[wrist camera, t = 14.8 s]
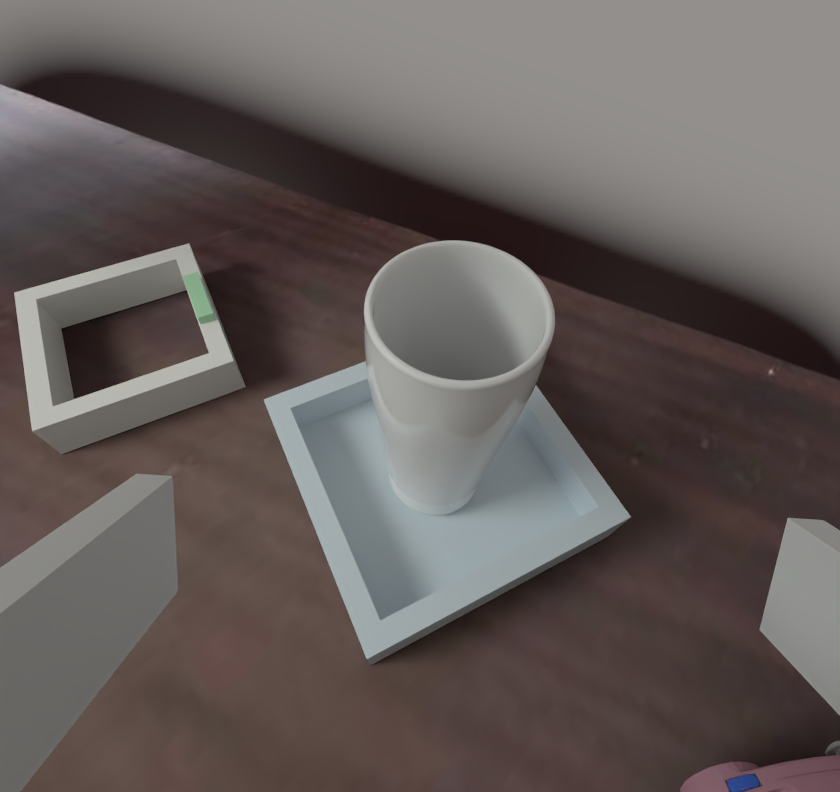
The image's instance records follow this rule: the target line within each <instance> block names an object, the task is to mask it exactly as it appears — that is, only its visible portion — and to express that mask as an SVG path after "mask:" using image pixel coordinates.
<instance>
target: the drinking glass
mask: <svg viewBox="0 0 840 792" xmlns="http://www.w3.org/2000/svg"><path fill="white" fill-rule="evenodd" d="M554 329H555V311H554V307H553V303H552V300H551V297H550V295H549V293H548V291H547V289H546V287H545V286H544V284H543V282H542V281H541V280H540V279H539V277H538V276H537V275H536V274H535V273H534V272H533V271H532V270H531V269H530V268H529V267H528V266H527V265H525V264H524V263H523V262H521V261H520V260H518V259H517V258H515V257H513V256H512V255H510V254H508V253H506V252H504V251H502V250H499V249H497V248H494V247H491V246H488V245H484V244H480V243H475V242H469V241H458V240H449V241H437V242H431V243H426V244H422V245H419V246H416V247H413V248H411V249H408V250H406V251H404V252H402V253H400V254H399V255H397V256H395V257H394V258H393V259H391V260H390V261H389V262H387V263H386V264H385V265H384V266H383V267H382V268H381V269H380V270H379V271H378V273H377V274H376V275H375V277H374V278H373V280H372V282H371V284H370V286H369V288H368V290H367V294H366V297H365V303H364V345H365V360H366V369H367V377H368V383H369V389H370V393H371V398H372V402H373V406H374V410H375V414H376V418H377V422H378V426H379V430H380V434H381V438H382V442H383V446H384V450H385V454H386V459H387V463H388V475H389V480H390V484H391V486H392V489H393V491H394V492H395V494H396V496H397V497H398V498H399V499H400V500H401V501H402V502H403V503H404V504H405V505H406V506H407V507H409V508H411V509H412V510H414V511H416V512H419V513H422V514H426V515H445V514H449V513H452V512H454V511H457V510H458V509H460V508H462V507H463V506H464V505H465V504H467V503H468V502H469V501H470V500H471V498H472V497H473V496H474V494H475V492H476V490H477V488H478V486H479V483H480V481H481V479H482V477H483V475H484V474H485V472H486V470H487V469H488V467H489V465H490V464H491V462H492V461H493V459H494V457H495V456H496V454H497V453H498V451H499V450H500V448H501V446H502V445H503V443H504V442H505V440H506V439H507V437H508V435H509V434H510V432H511V431H512V429H513V427H514V426H515V424H516V423H517V421H518V419H519V418H520V416H521V414H522V412H523V411H524V409H525V407H526V405H527V403H528V401H529V399H530V397H531V395H532V392H533V390H534V388H535V386H536V383H537V381H538V378H539V376H540V373H541V371H542V368H543V365H544V362H545V359H546V356H547V353H548V350H549V347H550V344H551V342H552V338H553V335H554Z"/></svg>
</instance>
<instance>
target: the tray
mask: <svg viewBox="0 0 840 792" xmlns="http://www.w3.org/2000/svg"><path fill="white" fill-rule="evenodd" d="M264 402H265V404H266V407H267V409H268V412H269V415H270V417H271V420H272V422H273V425H274V427H275V430H276V432H277V435H278V437H279V440H280V442H281V445H282V447H283V450H284V452H285V455H286V457H287V460H288V462H289V465H290V467H291V470H292V472H293V475H294V477H295V480H296V482H297V485H298V487H299V490H300V492H301V495H302V497H303V500H304V502H305V505H306V508H307V510H308V513H309V515H310V518H311V520H312V523H313V525H314V528H315V530H316V533H317V535H318V538H319V540H320V543H321V545H322V548H323V550H324V553H325V555H326V558H327V560H328V563H329V565H330V568H331V570H332V573H333V575H334V578H335V580H336V583H337V585H338V588H339V590H340V593H341V595H342V598H343V601H344V603H345V606H346V608H347V611H348V613H349V616H350V618H351V621H352V623H353V626H354V628H355V631H356V633H357V636H358V638H359V641H360V643H361V646H362V648H363V651H364V653H365V656H366V658H367V660H368V662H369V664H370V665H372V664H374V663H376V662H378V661H380V660H381V659H383V658H385V657H387V656H389V655H391V654H393V653H394V652H396V651H398V650H400V649H402V648H404V647H405V646H407V645H409V644H411V643H413V642H415V641H416V640H418V639H420V638H422V637H424V636H426V635H428V634H429V633H431V632H433V631H435V630H437V629H439V628H440V627H442V626H444V625H446V624H448V623H450V622H451V621H453V620H455V619H457V618H459V617H461V616H463V615H464V614H466V613H468V612H470V611H472V610H474V609H475V608H477V607H479V606H481V605H483V604H485V603H486V602H488V601H490V600H492V599H494V598H496V597H498V596H499V595H501V594H503V593H505V592H507V591H509V590H510V589H512V588H514V587H516V586H518V585H520V584H521V583H523V582H525V581H527V580H529V579H531V578H533V577H534V576H536V575H538V574H540V573H542V572H544V571H545V570H547V569H549V568H551V567H553V566H555V565H556V564H558V563H560V562H562V561H564V560H566V559H568V558H569V557H571V556H573V555H575V554H577V553H579V552H580V551H582V550H584V549H586V548H588V547H590V546H591V545H593V544H595V543H597V542H599V541H601V540H603V539H604V538H606V537H608V536H609V535H610V534H612V533H613V532H614V531H615V530H616V529H617V528H619V527H620V526H621V525H622V524H623V523H625V522H626V521H627V520H628V519H629V518H630V517H631V516H630V515H629V513H628V512H627V511H626V509H625V508H624V507H623V505H622V504H621V502H620V501H619V500H618V498H617V497H616V495H615V494H614V493H613V491H612V490H611V488H610V487H609V486H608V484H607V483H606V482H605V480H604V479H603V477H602V476H601V475H600V473H599V472H598V470H597V469H596V468H595V466H594V465H593V463H592V462H591V461H590V459H589V458H588V457H587V455H586V454H585V452H584V451H583V450H582V448H581V447H580V445H579V444H578V443H577V441H576V440H575V438H574V437H573V436H572V434H571V433H570V432H569V430H568V429H567V427H566V426H565V425H564V423H563V422H562V420H561V419H560V418H559V416H558V415H557V414H556V412H555V411H554V409H553V408H552V407H551V405H550V404H549V402H548V401H547V400H546V398H545V397H544V395H543V394H542V393H541V391H540V390H539V389H538V387H537V386H535V388H534V390H533V392H532V395H531V397H530V399H529V401H528V403H527V405H526V407H525V409H524V411H523V412H522V414H521V416H520V418H519V419H518V421H517V423H516V424H515V426H514V427H513V429H512V431H511V432H510V434H509V435H508V437H507V439H506V440H505V442H504V443H503V445H502V446H501V448H500V450H499V451H498V453H497V454H496V456H495V457H494V459H493V461H492V462H491V464H490V465H489V467H488V469H487V470H486V472H485V474H484V475H483V477H482V479H481V481H480V483H479V486H478V488H477V490H476V492H475V494H474V496H473V497H472V498H471V500H470V501H469V502H468V503H467V504H465V505H464V506H463V507H462V508H460V509H458V510H457V511H454V512H452V513H449V514H445V515H426V514H422V513H419V512H416V511H414V510H412V509H411V508H409V507H407V506H406V505H405V504H404V503H403V502H402V501H401V500H400V499H399V498H398V497H397V496H396V494H395V492H394V491H393V489H392V486H391V484H390V480H389V475H388V463H387V459H386V454H385V450H384V446H383V442H382V438H381V434H380V430H379V426H378V422H377V418H376V414H375V410H374V406H373V402H372V398H371V393H370V389H369V383H368V377H367V369H366V361H365V362H363V363H360V364H357V365H355V366H352V367H349V368H347V369H344V370H341V371H339V372H336V373H333V374H331V375H328V376H325V377H323V378H320V379H317V380H315V381H312V382H309V383H307V384H304V385H301V386H299V387H296V388H293V389H291V390H288V391H285V392H283V393H280V394H277V395H275V396H272V397H269V398H266V399H264Z"/></svg>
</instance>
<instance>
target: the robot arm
mask: <svg viewBox="0 0 840 792" xmlns="http://www.w3.org/2000/svg"><path fill="white" fill-rule="evenodd" d="M177 592H178V582H177V561H176V539H175V518H174V496H173V476H161V475H146V474H136V475H134V476H133V477H131V478H130V479H128V480H127V481H125V482H124V483H123V484H121V485H120V486H118V487H117V488H115V489H114V490H112V491H111V492H109V493H108V494H107V495H105V496H104V497H102V498H101V499H99V500H98V501H96V502H95V503H94V504H92V505H91V506H89V507H88V508H86V509H85V510H83V511H82V512H80V513H79V514H78V515H76V516H75V517H73V518H72V519H70V520H69V521H67V522H66V523H64V524H63V525H62V526H60V527H59V528H57V529H56V530H54V531H53V532H51V533H50V534H49V535H47V536H46V537H44V538H43V539H41V540H40V541H38V542H37V543H35V544H34V545H33V546H31V547H30V548H28V549H27V550H25V551H24V552H22V553H21V554H20V555H18V556H17V557H15V558H14V559H12V560H11V561H9V562H8V563H6V564H5V565H4V566H2V567H1V568H0V792H21V790H22V789H23V788H24V787H25V785H26V784H27V783H28V781H29V780H30V779H31V778H32V776H33V775H34V774H35V773H36V771H37V770H38V769H39V767H40V766H41V765H42V764H43V762H44V761H45V760H46V759H47V757H48V756H49V755H50V753H51V752H52V751H53V750H54V748H55V747H56V746H57V745H58V743H59V742H60V741H61V739H62V738H63V737H64V736H65V734H66V733H67V732H68V730H69V729H70V728H71V727H72V725H73V724H74V723H75V722H76V720H77V719H78V718H79V716H80V715H81V714H82V713H83V711H84V710H85V709H86V708H87V706H88V705H89V704H90V702H91V701H92V700H93V699H94V697H95V696H96V695H97V694H98V692H99V691H100V690H101V688H102V687H103V686H104V685H105V683H106V682H107V681H108V679H109V678H110V677H111V676H112V674H113V673H114V672H115V671H116V669H117V668H118V667H119V665H120V664H121V663H122V662H123V660H124V659H125V658H126V657H127V655H128V654H129V653H130V651H131V650H132V649H133V648H134V646H135V645H136V644H137V643H138V641H139V640H140V639H141V637H142V636H143V635H144V634H145V632H146V631H147V630H148V629H149V627H150V626H151V625H152V623H153V622H154V621H155V620H156V618H157V617H158V616H159V614H160V613H161V612H162V611H163V609H164V608H165V607H166V606H167V604H168V603H169V602H170V600H171V599H172V598H173V597H174V595H175V594H176V593H177ZM760 631H761V632H762V633H763V634H764V635H765V636H766V637H767V638H768V640H769V641H770V642H771V643H772V644H773V645H774V646H775V647H776V648H777V649H778V650H779V651H780V652H781V653H782V654H783V656H784V657H785V658H786V659H787V660H788V661H789V662H790V663H791V664H792V665H793V666H794V667H795V668H796V669H797V671H798V672H799V673H800V674H801V675H802V676H803V677H804V678H805V679H806V680H807V681H808V682H809V683H810V684H811V686H812V687H813V688H814V689H815V690H816V691H817V692H818V693H819V694H820V695H821V696H822V697H823V698H824V699H825V700H826V702H827V703H828V704H829V705H830V706H831V707H832V708H833V709H834V710H835V711H836V712H837V713H838V714H839V715H840V530H838V529H837V528H835V527H834V526H832V525H830V524H829V523H827V522H826V521H824V520H813V519H798V518H788V519H787V523H786V527H785V531H784V534H783V538H782V542H781V546H780V550H779V554H778V558H777V562H776V566H775V570H774V574H773V578H772V582H771V586H770V590H769V594H768V598H767V602H766V606H765V610H764V614H763V618H762V622H761V626H760Z"/></svg>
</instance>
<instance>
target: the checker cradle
mask: <svg viewBox="0 0 840 792" xmlns="http://www.w3.org/2000/svg"><path fill="white" fill-rule="evenodd" d="M186 290H187V292H188V295H189V298H190V300H191V303H192V306H193V309H194V312H195V314H196V317H197V320H198V323H199V326H200V329H201V331H202V334H203V337H204V340H205V343H206V346H207V348H208V351H209V353H208V354H206V355H203V356H200V357H197V358H194V359H191V360H188V361H185V362H182V363H179V364H176V365H173V366H170V367H167V368H164V369H161V370H159V371H156V372H153V373H150V374H147V375H144V376H141V377H138V378H135V379H132V380H129V381H126V382H123V383H120V384H117V385H114V386H111V387H109V388H106V389H103V390H100V391H97V392H94V393H91V394H88V395H85V396H82V397H79V398H76V399H74V395H73V390H72V384H71V379H70V373H69V368H68V362H67V357H66V351H65V346H64V340H63V335H62V329H61V328H65V327H68V326H71V325H74V324H78V323H81V322H84V321H88V320H91V319H94V318H97V317H101V316H104V315H107V314H111V313H114V312H117V311H120V310H124V309H127V308H130V307H133V306H137V305H140V304H143V303H147V302H150V301H153V300H156V299H160V298H163V297H166V296H170V295H173V294H176V293H179V292H183V291H186ZM14 295H15V302H16V310H17V318H18V326H19V333H20V341H21V349H22V357H23V364H24V372H25V380H26V388H27V395H28V403H29V411H30V418H31V426H32V431H33V432H34V433H35V434H36V435H38V436H39V437H40V438H42V439H43V440H44V441H46V442H47V443H48V444H49V445H51V446H52V447H53V448H55V449H56V450H57V451H58V452H60V453H61V454H64V453H66V452H69V451H72V450H75V449H77V448H80V447H83V446H86V445H88V444H91V443H94V442H96V441H99V440H102V439H105V438H107V437H110V436H113V435H116V434H118V433H121V432H124V431H127V430H129V429H132V428H135V427H138V426H140V425H143V424H146V423H149V422H151V421H154V420H157V419H160V418H162V417H165V416H168V415H171V414H173V413H176V412H179V411H182V410H184V409H187V408H190V407H193V406H195V405H198V404H201V403H204V402H206V401H209V400H212V399H215V398H217V397H220V396H223V395H226V394H228V393H231V392H234V391H237V390H239V389H242V388H245V387H246V386H245V383H244V381H243V378H242V376H241V373H240V370H239V368H238V365H237V363H236V360H235V357H234V355H233V352H232V349H231V347H230V344H229V342H228V339H227V336H226V334H225V331H224V329H223V326H222V323H221V321H220V318H219V316H218V313H217V310H216V308H215V305H214V302H213V300H212V297H211V295H210V292H209V289H208V287H207V284H206V282H205V279H204V276H203V274H202V272H201V269H200V267H199V265H198V262H197V260H196V258H195V256H194V253H193V251H192V249H191V247H190V244H185V245H182V246H178V247H174V248H171V249H167V250H164V251H160V252H157V253H153V254H150V255H146V256H142V257H139V258H135V259H132V260H128V261H125V262H121V263H118V264H114V265H111V266H107V267H103V268H100V269H96V270H93V271H89V272H86V273H82V274H79V275H75V276H71V277H68V278H64V279H61V280H57V281H54V282H50V283H47V284H43V285H40V286H36V287H32V288H29V289H25V290H22V291H18V292H15V293H14Z"/></svg>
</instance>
